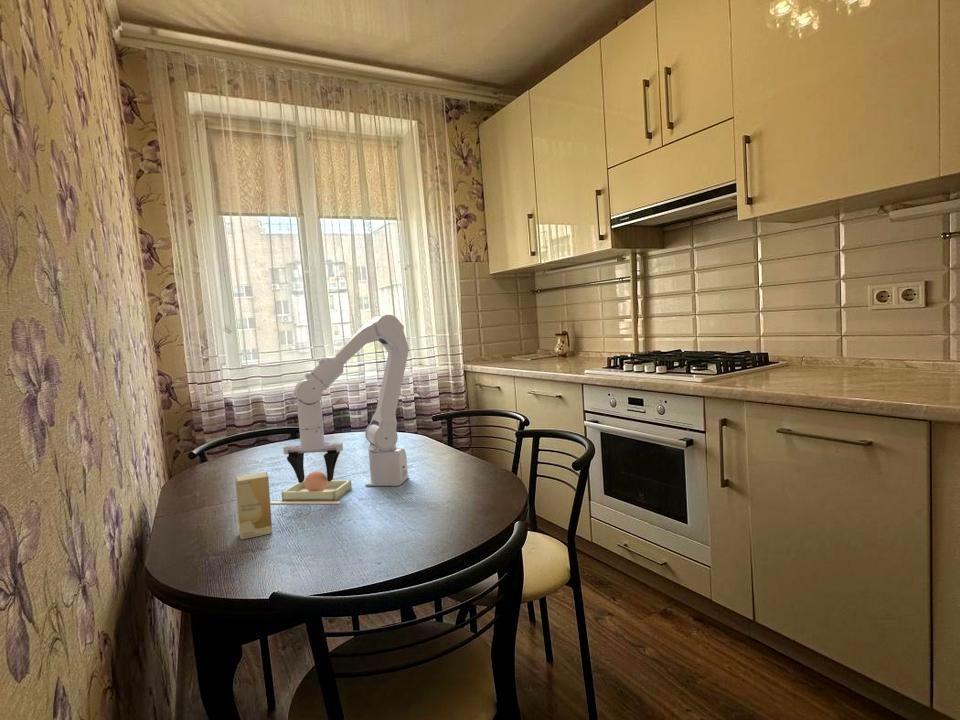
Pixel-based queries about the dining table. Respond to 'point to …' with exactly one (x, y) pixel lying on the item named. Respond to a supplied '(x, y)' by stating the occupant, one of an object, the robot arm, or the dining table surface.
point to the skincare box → (253, 505)
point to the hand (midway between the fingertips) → (316, 480)
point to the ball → (316, 481)
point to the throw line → (305, 502)
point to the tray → (317, 492)
